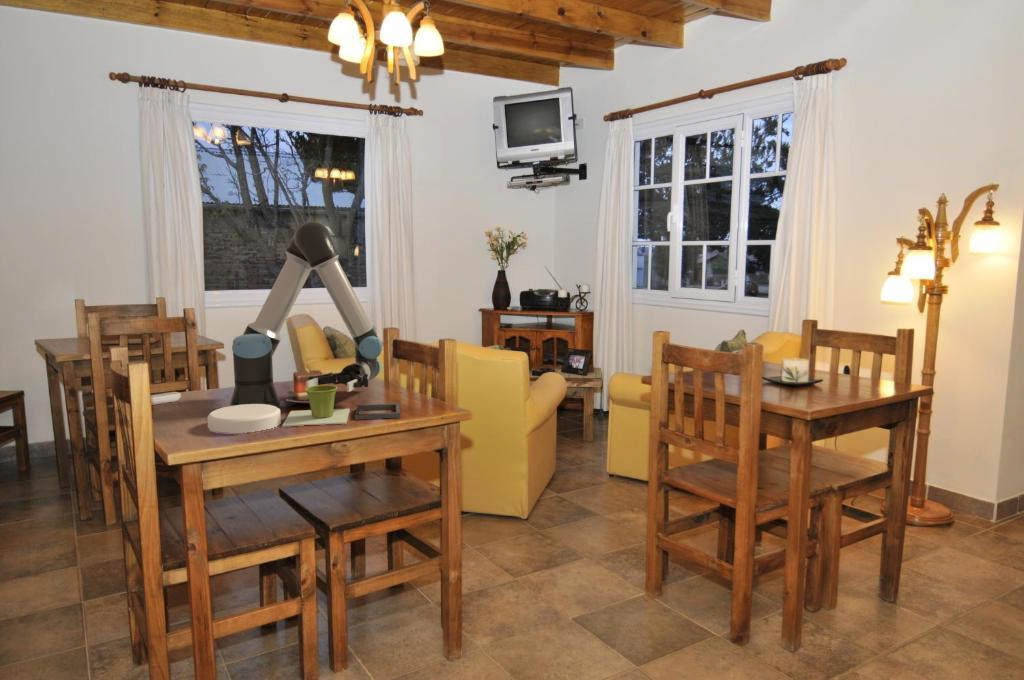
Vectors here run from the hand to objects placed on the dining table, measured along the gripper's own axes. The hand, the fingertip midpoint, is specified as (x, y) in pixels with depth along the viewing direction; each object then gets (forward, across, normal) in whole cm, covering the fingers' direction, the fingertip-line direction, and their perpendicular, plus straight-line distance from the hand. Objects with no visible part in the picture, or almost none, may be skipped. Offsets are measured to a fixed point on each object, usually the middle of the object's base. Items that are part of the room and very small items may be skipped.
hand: (327, 386), depth 222 cm
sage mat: (+7, 0, -8) cm, 11 cm away
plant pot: (+7, -1, -8) cm, 10 cm away
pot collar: (-2, -16, -8) cm, 18 cm away
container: (+19, +17, -9) cm, 27 cm away
